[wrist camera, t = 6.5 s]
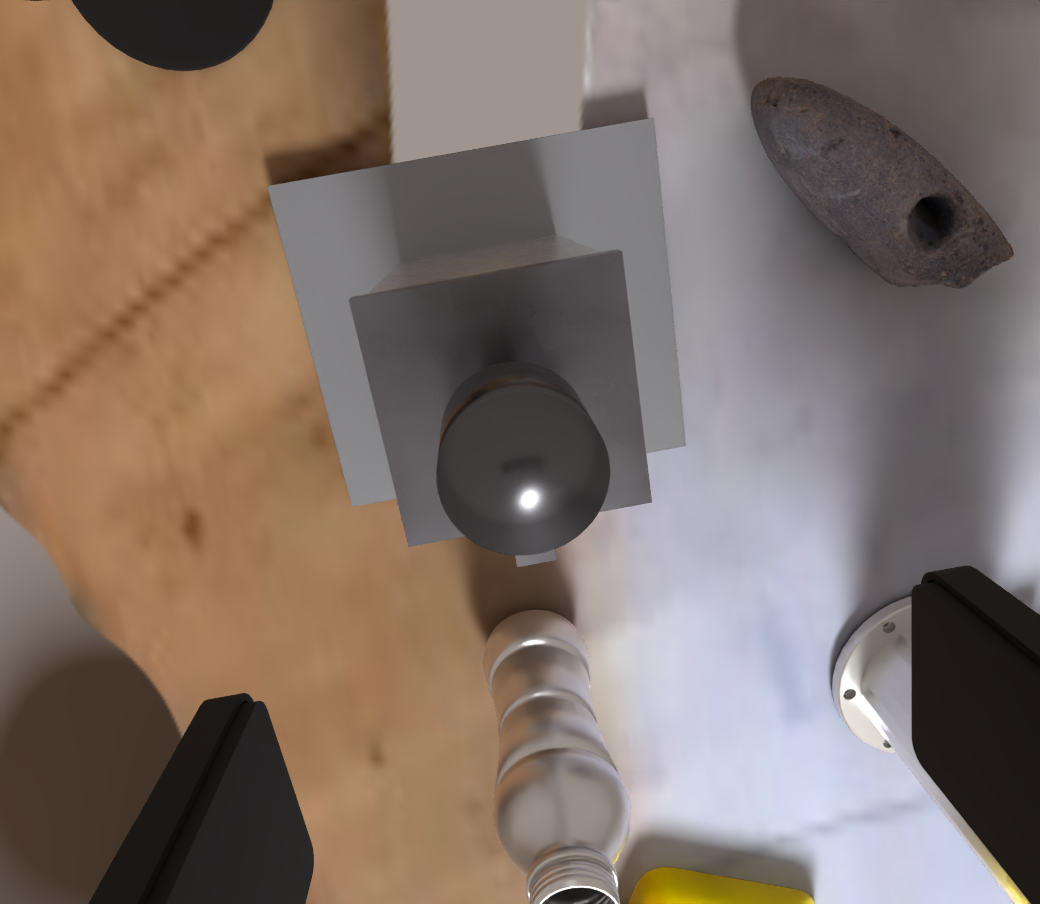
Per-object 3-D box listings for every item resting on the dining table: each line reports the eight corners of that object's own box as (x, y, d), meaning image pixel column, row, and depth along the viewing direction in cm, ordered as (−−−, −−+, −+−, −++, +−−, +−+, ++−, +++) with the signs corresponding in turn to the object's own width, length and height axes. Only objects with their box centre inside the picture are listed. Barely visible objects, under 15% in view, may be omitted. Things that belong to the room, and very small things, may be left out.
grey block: (559, 229, 39) (622, 250, 24) (588, 435, 43) (660, 573, 27) (395, 258, 39) (348, 299, 23) (440, 463, 43) (425, 616, 27)
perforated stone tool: (706, 130, 40) (753, 117, 33) (775, 45, 38) (839, 13, 32) (888, 307, 43) (963, 327, 37) (956, 234, 42) (1046, 241, 36)
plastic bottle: (497, 586, 47) (518, 843, 29) (597, 609, 48) (681, 871, 30) (470, 670, 49) (474, 963, 30) (567, 690, 50) (628, 985, 31)
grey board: (648, 120, 39) (653, 117, 38) (680, 439, 45) (685, 445, 44) (273, 186, 39) (267, 186, 38) (355, 498, 45) (352, 506, 44)
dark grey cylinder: (531, 286, 37) (598, 377, 18) (544, 372, 38) (620, 538, 19) (443, 302, 36) (419, 409, 18) (460, 387, 38) (454, 569, 19)
